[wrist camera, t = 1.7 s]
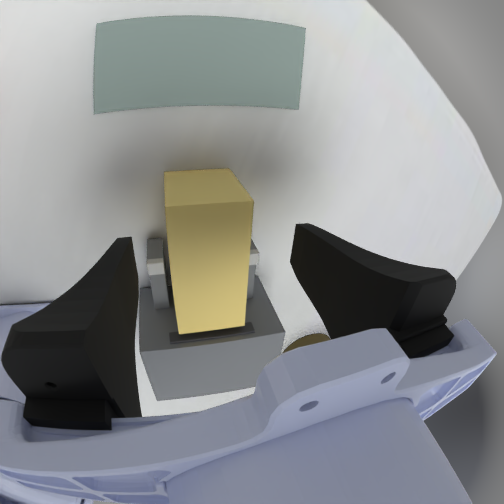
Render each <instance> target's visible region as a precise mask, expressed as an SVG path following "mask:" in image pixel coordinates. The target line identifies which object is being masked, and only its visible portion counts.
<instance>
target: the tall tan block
mask: <svg viewBox="0 0 504 504" xmlns="http://www.w3.org/2000/svg"><path fill="white" fill-rule="evenodd" d="M164 192H165V215H166V229H167V240H168V251H169V261H170V271H171V280H172V288H173V296H174V304H175V311H176V318H177V325H178V332H179V334H186V333H195V332H203V331H210V330H218V329H225V328H232V327H239V326H245V314H246V300H247V286H248V273H249V259H250V246H251V232H252V219H253V206H254V201H253V199H252V198H251V197H250V195H249V194H248V193H247V191H246V190H245V189H244V187H243V186H242V185H241V183H240V182H239V181H238V179H237V178H236V177H235V175H234V174H233V173H232V171H231V170H230V169H203V170H185V171H170V172H164Z"/></svg>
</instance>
